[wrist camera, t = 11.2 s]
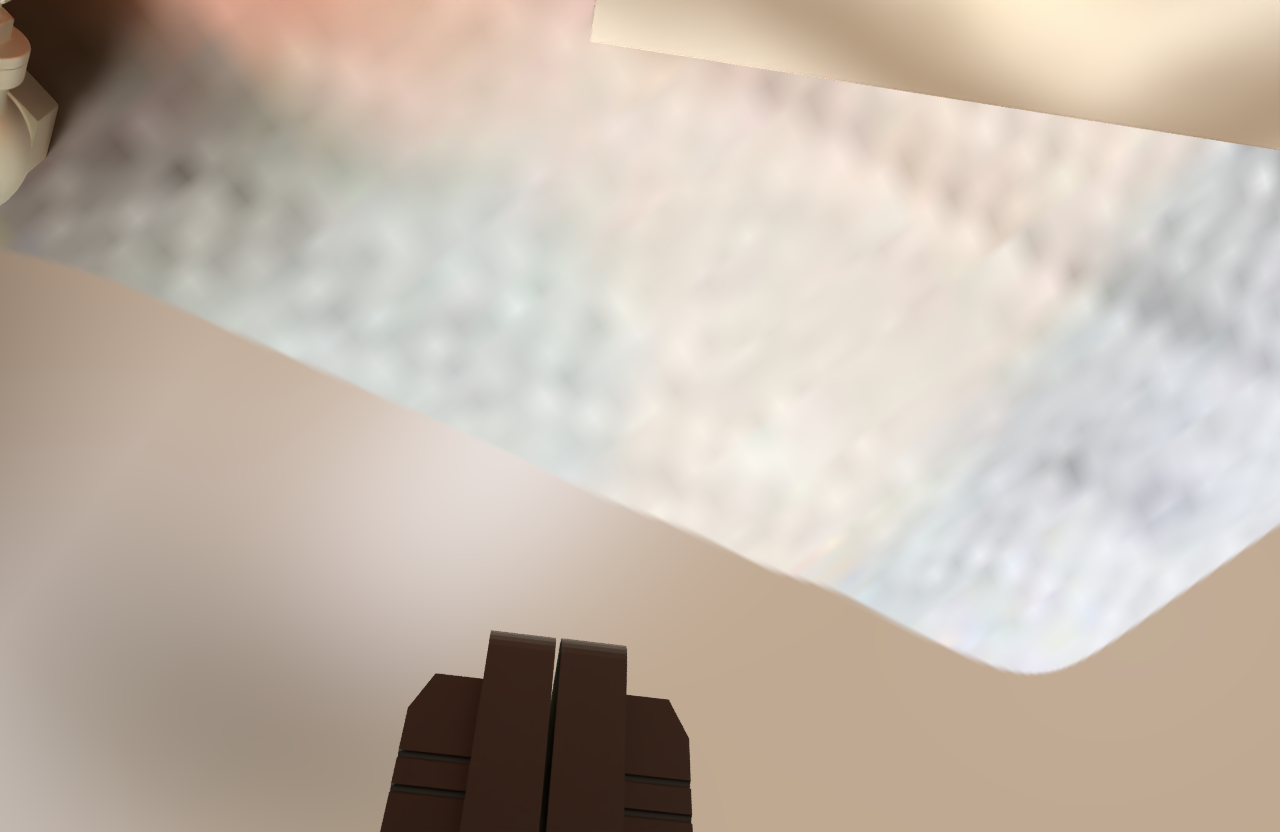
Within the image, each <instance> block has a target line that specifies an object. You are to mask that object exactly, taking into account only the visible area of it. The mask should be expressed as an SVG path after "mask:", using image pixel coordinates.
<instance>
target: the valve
mask: <svg viewBox="0 0 1280 832" xmlns="http://www.w3.org/2000/svg"><path fill="white" fill-rule="evenodd" d="M9 1H10V0H0V205H1V204H3V203H4V202H6V201H7V200H8V199H9V198H10V197H11V196H12V195H13V194H14V193H15V192H16V191H17V190H18V188H19V187H20V185H21V184H22V182H23V181H24V179H25V177H26V175H27V173H29V172H30V171H31V170H32V169H33V168H34V167H36V166H37V165H38V164H39V163H40V162H41V161H42V160H44V159H45V158H46V155H47V152H48V148H49V144H50V140H51V136H52V132H53V127H54V123H55V119H56V115H57V111H58V106H59V105H58V104H57V102H56V101H55V100H54V99H53V98H52V97H51V96H50V95H49V94H48V92H47V91H46V90H45V89H44V88H43V87H42V86H41V85H40V84H39V83H38V82H37V81H36V80H35V79H34V77H33V76H32V75H31V74H30V73H29V72H28V71H27V70H26V68H27V64H28V60H29V56H30V52H31V46H30V43H29V41H28V39H27V38H26V37H25V36H24V34H23V33H21V32H20V31H19V30H18V29H17V28H15V27H14V26H13V24H14V19H13V17H12V16H11V15H10V14H9V13H8V12H7V11H6V10H5V9H4V8H3V7H2V4H5V3H7V2H9Z"/></svg>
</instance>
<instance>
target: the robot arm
mask: <svg viewBox="0 0 1280 832" xmlns="http://www.w3.org/2000/svg"><path fill="white" fill-rule="evenodd" d="M555 647H556V638H550V637H543V636H534V635H525V634H516V633H508V632H499V631H491V634H490V639H489V646H488V652H487V658H486V665H485V671H484V678H483V679H480V678H471V677H462V676H453V675H445V674H435V675H434V676H433V677H432V679H431V680H430V681H429V682H428V684H427V685H426V686H425V687H424V689H423V690H422V691H421V692H420V694H419V695H418V696H417V697H416V699H415V700H414V701H413V702H412V703H411V705H410V706H409V707H408V710H407V715H406V719H405V724H404V728H403V733H402V737H401V742H400V746H399V752H398V757H397V759H396V764H395V768H394V773H393V777H392V782H391V788H390V792H389V796H388V800H387V804H386V809H385V813H384V818H383V822H382V826H381V831H380V832H693V828H692V824H691V817H692V804H691V789H690V781H691V779H690V752H689V738H688V736H687V734H686V732H685V730H684V728H683V726H682V724H681V722H680V720H679V719H678V717H677V715H676V713H675V711H674V709H673V707H672V705H671V703H670V701H669V700H667V699H658V698H650V697H641V696H632V695H626V686H627V649H626V646H622V645H613V644H605V643H595V642H587V641H579V640H571V639H561V642H560V648H559V654H558V659H557V666H556V672H555V678H554V684H553V691H552V680H553V670H554V659H555ZM551 692H552V697H551Z"/></svg>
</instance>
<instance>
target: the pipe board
mask: <svg viewBox="0 0 1280 832" xmlns="http://www.w3.org/2000/svg"><path fill="white" fill-rule="evenodd" d="M590 42H597V43H603V44H609V45H616V46H622V47H628V48H635V49H641V50H647V51H654V52H660V53H666V54H673V55H679V56H685V57H692V58H698V59H704V60H711V61H717V62H723V63H730V64H736V65H742V66H749V67H755V68H761V69H768V70H774V71H780V72H787V73H793V74H799V75H806V76H812V77H818V78H825V79H831V80H837V81H844V82H850V83H856V84H863V85H869V86H875V87H882V88H888V89H894V90H901V91H907V92H913V93H920V94H926V95H932V96H939V97H945V98H951V99H958V100H964V101H970V102H977V103H983V104H989V105H996V106H1002V107H1008V108H1015V109H1021V110H1027V111H1034V112H1040V113H1046V114H1053V115H1059V116H1065V117H1072V118H1078V119H1084V120H1091V121H1097V122H1103V123H1110V124H1116V125H1122V126H1129V127H1135V128H1141V129H1148V130H1154V131H1160V132H1167V133H1173V134H1179V135H1186V136H1192V137H1198V138H1205V139H1211V140H1218V141H1224V142H1230V143H1237V144H1243V145H1249V146H1256V147H1262V148H1268V149H1275V150H1280V0H596V3H595V11H594V18H593V26H592V33H591V41H590Z"/></svg>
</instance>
